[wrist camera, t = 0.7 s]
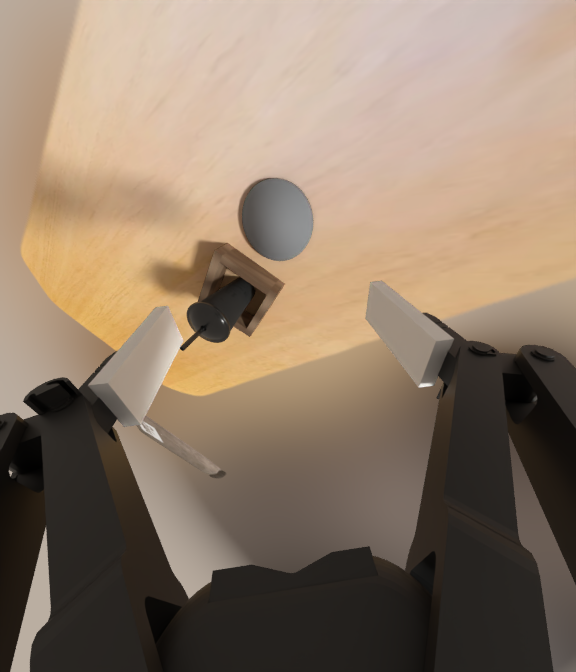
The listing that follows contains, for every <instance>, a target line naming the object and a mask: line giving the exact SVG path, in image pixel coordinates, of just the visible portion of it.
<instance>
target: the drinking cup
mask: <svg viewBox="0 0 576 672" xmlns="http://www.w3.org/2000/svg"><path fill="white" fill-rule="evenodd" d="M254 294H255V288H254V286H253V285H251V284H250V283H249V282H247V281H246V280H244V279H243V278H238V279H236V280H235V281H233V282H231V283H230V284H228V285H226V286H225V287H223V288H221V289H220V290H218V291H216V292H215V293H213V294H212V295H210V296H208V297H207V298H205V299H203V300H202V301H200V302H196V303H194V304H192V305H191V306H190V307H189V308H188V310H187V319H188V322H189V324H190V326H191V328H192V329H193V330H194V331H195V332H196V333H195V334H194V335H192V336H191V337H190V338H189V339H188V340H187V341H186V342H185V343H184V344H183V345H182V346H181V347H180V349H181V350H182V351H184V350H185V349H186V348H187V347H188V346H189V345H190V344H191V343H192V342H193V341H194V340H195V339H196V338H197V337H198V336H200V337H202V338H203V339H205V340H207V341H210V342H214V343H219V342H223V341H225V340H226V339H227V338H228V337H229V335H230V331H231V329H232V328H233V326H234V325H235V323H236V322H237V320H238V319H239V317H240V316H241V314H242V313H243V311H244V310H245V308H246V307H247V305H248V304H249V302H250V301H251V299H252V298H253V296H254Z"/></svg>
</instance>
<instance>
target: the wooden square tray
mask: <svg viewBox="0 0 576 672" xmlns="http://www.w3.org/2000/svg"><path fill="white" fill-rule="evenodd" d="M227 268H228V269H230V270H231V271H233V272H234V273H236V274H237V275H238V276H240V277H241V278H243V279H244V280H246V281H247V282H249V283H250V284H251V285H253V286H254V287H256V288H257V289H259V290H260V291H261V292H263V293H264V294H266V295H267V296H266V298H265V299H264V301H263V303H262V304H261V306H260V307H259V309H258V311H257V312H256V314H255V316H254V317H253V316H252V315H250V314H249V313H248V312H246V311H245V310H244V311H243V313H242V314H241V316H240V317H239V319H238V320H237V322H236V323H235V325H234V327H236V328H237V329H239V330H240V331H242V332H243V333H245V334H246V335H248V336H249V337H250V336H251V335H252V333H253V332H254V330H255V329H256V328H257V326H258V325H259V323H260V322H261V320H262V319H263V317H264V316H265V314H266V313H267V311H268V309H269V308H270V306H271V305H272V303H273V302H274V300H275V299H276V297H277V296H278V294H279V293H280V291H281V289H282V288H283V286H284V285H285V284H284V283H283V282H282V281H280V280H279V279H277V278H276V277H275V276H273V275H272V274H270V273H269V272H268V271H266V270H265V269H263V268H262V267H261V266H259V265H258V264H256V263H255V262H254V261H252V260H251V259H249V258H248V257H246V256H245V255H244V254H242V253H241V252H239V251H238V250H237V249H235V248H234V247H232V246H231V245H230V244H228V243H227V244H225V245H224V246H222V247H220V248H218V249H216V250H215V251H214V254H213V257H212V260H211V263H210V266H209V269H208V272H207V275H206V278H205V281H204V284H203V287H202V290H201V293H200V296H199V299H198V302H200V301H202V300H203V299H205V298H207V297H208V296H210V295H212V294H213V293H215V292H216V291H218V289H219V286H220V284H221V281H222V279H223V276H224V274H225V271H226V269H227Z"/></svg>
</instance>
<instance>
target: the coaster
mask: <svg viewBox="0 0 576 672" xmlns="http://www.w3.org/2000/svg"><path fill="white" fill-rule="evenodd" d="M242 222H243V228H244V231H245V234H246V237H247V239H248V241H249V242H250V244H251V245H252V246H253V248H254V249H255V250H256V251H257V252H258V253H260V254H261V255H263V256H264V257H266V258H268V259H271V260H275V261H285V260H289V259H292V258H294V257H295V256H297V255H298V254H300V253H301V252H302V251H303V249H304V248H305V247H306V246H307V244H308V242H309V240H310V238H311V235H312V230H313V214H312V209H311V206H310V203H309V201H308V199H307V198H306V196H305V194H304V193H303V192H302V191H301V190H300V189H299V188H298V187H297V186H296V185H295V184H293V183H291V182H289V181H287V180H284V179H279V178H273V179H267V180H264V181H261V182H260V183H258V184H256V185H255V186H254V187H253V188H252V189H251V190H250V192H249V193H248V195H247V197H246V199H245V201H244V205H243V210H242Z"/></svg>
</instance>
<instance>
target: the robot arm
mask: <svg viewBox="0 0 576 672" xmlns="http://www.w3.org/2000/svg"><path fill="white" fill-rule="evenodd" d="M365 319H366V320H367V321H368V322H369V324H370V325H371V326H372V328H373V329H374V330H375V331H376V333H377V334H378V335H379V337H380V338H381V339H382V341H383V342H384V343H385V344H386V346H387V347H388V348H389V349H390V351H391V352H392V354H393V355H394V356H395V357H396V359H397V360H398V361H399V363H400V364H401V365H402V366H403V368H404V369H405V370H406V372H407V373H408V374H409V375H410V377H411V378H412V379H413V381H414V382H415V383H416V385H417V386H418V387H425V386H433V385H435V382H436V380H437V378H438V376H439V377H440V378H441V379H442V381H443V382H444V383H443V385H442V387H441V389H440V392H439V394H438V396H437V399H439V403H438V409H437V415H436V420H435V426H434V432H433V437H432V443H431V449H430V454H429V459H428V465H427V471H426V477H425V482H424V487H423V493H422V499H421V504H420V510H419V516H418V521H417V527H416V532H415V536H414V539H413V542H412V545H411V548H410V551H409V554H408V559H407V563H406V568H405V571H404V570H403V569H402V568H400V567H399V566H397V565H395V564H393V563H391V562H389V561H387V560H385V559H382V558H379V557H376V556H372V553H371V550H370V547H362V548H356V549H349V550H343V551H337V552H332V553H330V554H328V555H326V556H324V557H323V558H321V559H319V560H317V561H315V562H314V563H312V564H310V565H308V566H307V567H305V568H303V569H301V570H300V571H298V572H296V573H286V572H282V571H277V570H273V569H268V568H264V567H259V566H255V565H247V566H241V567H235V568H228V569H222V570H215V571H213V574H212V581H211V582H210V583H208V584H207V585H205V586H204V587H203V588H201V589H200V590H199V591H197V592H196V593H195V594H194V595H193V596H192V597H191V598H190V599H189V598H188V596H187V594H186V592H185V590H184V588H183V586H182V585H181V583H180V582H179V581H178V579H177V578H176V577H175V575H174V573H173V572H172V570H171V567H170V565H169V562H168V560H167V557H166V555H165V552H164V550H163V547H162V545H161V542H160V539H159V537H158V534H157V532H156V529H155V527H154V525H153V522H152V519H151V517H150V514H149V512H148V509H147V507H146V504H145V502H144V499H143V497H142V494H141V492H140V489H139V487H138V484H137V482H136V479H135V476H134V474H133V471H132V469H131V466H130V464H129V461H128V459H127V456H126V454H125V451H124V449H123V446H122V444H121V441H120V439H119V436H118V434H117V431H116V430H115V429H114V428H113V427H112V426H113V425H114V423H115V422H116V420H117V419H118V421H119V422H120V423H121V424H122V425H123V426H124V427H127V426H134V425H141V423H142V421H143V419H144V417H145V415H146V413H147V411H148V409H149V408H150V406H151V403H152V402H153V400H154V398H155V396H156V393H157V392H158V390H159V388H160V386H161V384H162V382H163V380H164V378H165V376H166V374H167V372H168V370H169V368H170V366H171V364H172V362H173V360H174V358H175V356H176V354H177V352H178V350H179V348H180V346H181V344H182V342H183V339H182V337H181V334H180V332H179V330H178V327H177V325H176V323H175V321H174V318H173V316H172V314H171V312H170V309H169V307H168V306H162V307H155V309H154V310H153V311H152V312H151V313H150V314H149V316H148V317H147V318H146V319H145V320H144V321H143V322H142V324H141V325H140V326H139V327H138V328H137V329H136V331H135V332H134V333H133V334H132V335H131V336H130V337H129V339H128V340H127V341H126V342H125V343H124V344H123V345H122V347H121V348H120V349H119V350H118V351H116V352H114V353H113V354H112V355H110V356H109V357H108V358H106V359H105V360H104V361H103V363H102V364H101V365H100V367H98V368H97V369H96V370H95V373H93V374H92V375H91V376H90V377H89V378H88V379H87V381H86V382H85V383H84V384H83V385H82V386H81V387H80V388H79V389H77V388H76V387H75V386H74V385H73V384H72V383H71V381H70V380H69V379H68V378H57V379H53V380H50V381H48V382H45V383H43V384H42V385H40V386H38V387H36V388H35V389H33V390H32V391H31V392H29V394H28V395H27V396H26V397H25V398H24V401H23V402H24V403H26V404H27V405H28V406H29V407H31V409H33V410H34V411H35V412H36V413H37V414H39V415H36V416H33V417H30V418H27V419H24V420H23V419H22V418H20V417H19V416H18V415H17V414H15V413H6V414H3V415H0V672H10V669H11V665H12V661H13V657H14V653H15V649H16V645H17V641H18V637H19V633H20V628H21V625H22V621H23V617H24V613H25V609H26V604H27V600H28V596H29V592H30V588H31V584H32V580H33V576H34V571H35V568H36V564H37V560H38V555H39V551H40V547H41V543H42V539H43V535H44V531H45V527H46V529H47V546H48V562H49V563H48V565H49V582H50V598H51V599H50V600H51V614H50V618H49V620H48V622H47V623H46V624H45V625H44V626H43V627H42V628H41V629H40V630H39V631H38V632H37V634H36V636H35V639H34V641H33V644H32V648H31V657H30V672H553V666H552V659H551V651H550V645H549V637H548V630H547V623H546V617H545V609H544V602H543V595H542V588H541V581H540V575H539V571H538V567H537V563H536V561H535V559H534V557H533V555H532V553H530V552H529V551H528V550H527V549H525V548H524V547H523V546H522V545H521V543H520V540H519V536H518V529H517V519H516V518H517V517H516V509H515V508H516V507H515V497H514V487H513V477H512V467H511V457H510V447H509V436H508V433H509V435H510V437H511V439H512V442H513V444H514V446H515V448H516V451H517V453H518V455H519V457H520V460H521V462H522V464H523V466H524V469H525V471H526V473H527V476H528V478H529V480H530V482H531V485H532V487H533V489H534V491H535V494H536V496H537V498H538V500H539V503H540V505H541V507H542V509H543V512H544V514H545V516H546V518H547V521H548V523H549V525H550V528H551V530H552V532H553V534H554V537H555V539H556V541H557V543H558V546H559V548H560V550H561V552H562V555H563V557H564V559H565V561H566V563H567V566H568V568H569V571H570V573H571V575H572V577H573V579H574V582H575V584H576V368H575V367H574V366H573V365H572V364H571V363H570V362H569V361H568V360H567V359H566V358H565V357H564V356H563V355H561V354H560V353H558V352H556V351H554V350H553V349H550V348H547V347H544V346H537V345H525V346H522V347H521V348H520V350H519V351H518V353H517V354H506V353H499V351H497V350H496V349H495V348H494V347H491V346H490V345H488V344H485V343H481V342H476V341H466V340H465V339H464V338H462V337H461V336H460V335H459V334H457V333H456V332H454V331H453V330H452V329H451V328H448V326H447V325H445V324H444V323H442V321H440V320H439V319H438V318H436V317H435V316H432V315H430V314H428V313H421V312H420V311H419V310H418V309H416V308H415V307H414V306H413V305H411V304H410V303H409V302H408V301H406V300H405V299H404V298H403V297H401V296H400V295H399V294H398V293H397V292H395V291H394V290H393V289H392V288H390V287H389V286H388V285H387V284H385V283H384V282H383V281H375V282H370V288H369V295H368V303H367V310H366V317H365ZM9 470H10V471H12V472H13V473H12V475H11V477H10V474H9Z"/></svg>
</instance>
